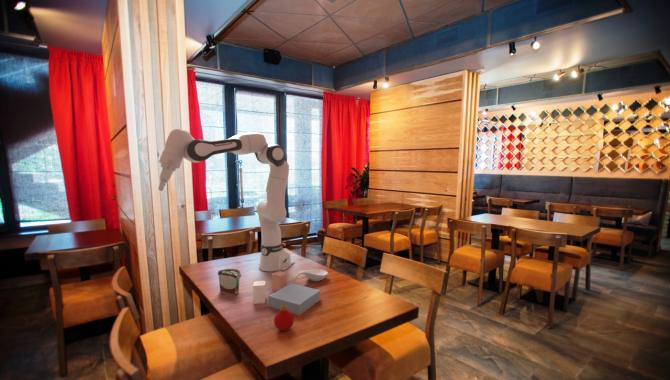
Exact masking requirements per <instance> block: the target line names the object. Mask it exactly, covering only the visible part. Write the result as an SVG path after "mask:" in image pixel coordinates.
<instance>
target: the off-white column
mask: <svg viewBox="0 0 670 380" xmlns="http://www.w3.org/2000/svg"><path fill="white" fill-rule="evenodd" d="M252 299H253V300H252V301H253V302H252V304H253V305H256V304H257V305H258V304H265V303H266V280H258V281H253V284H252Z"/></svg>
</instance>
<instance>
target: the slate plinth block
mask: <svg viewBox="0 0 670 380" xmlns="http://www.w3.org/2000/svg"><path fill="white" fill-rule="evenodd" d="M267 297H268V307H269V308H273V309H277V310H279V309H280V310H281V306H283V303H284V305H285V306H287V310H288V311H290V312H291V313H294V314H293V315H295V314H297V315H296V316H299V315H300V314H301V315H302V314H304V313H305V312H306V311H308V310H309V309H310V308H311V306H312V307H313V306H314V305H315V303H316V304H317V303H318V302H320V301H321V289H317V288H313V287H312V288H311V287H308V286H304V285H300V284H296V283H295V284H293V283H291V284H289V285H288V284H287V286H285V287H284V288H282V289H280V290H278V291H274V292H273V293H271V294H270V295H268V296H267ZM319 300H320V301H319ZM307 309H308V310H307ZM280 310H279V311H280ZM303 312H304V313H303ZM301 315H300V316H301Z"/></svg>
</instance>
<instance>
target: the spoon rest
mask: <svg viewBox="0 0 670 380" xmlns="http://www.w3.org/2000/svg"><path fill="white" fill-rule="evenodd" d="M301 275H304V276H306V277H307V279H309V280H310V281H312V282H321V281H322V280H324V279H326V277H328V275H329V273H328V271H327V270H323V269H316V268H315V269H306V270H305V269H304V270H303V269H300V270H297V271H295V272H294V273H293V274H292V275H291V276H290V277H289V280H288V281H287V285H289V284H291V283H293V284H296V280H297V278H299V276H301ZM320 280H321V281H320Z"/></svg>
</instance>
